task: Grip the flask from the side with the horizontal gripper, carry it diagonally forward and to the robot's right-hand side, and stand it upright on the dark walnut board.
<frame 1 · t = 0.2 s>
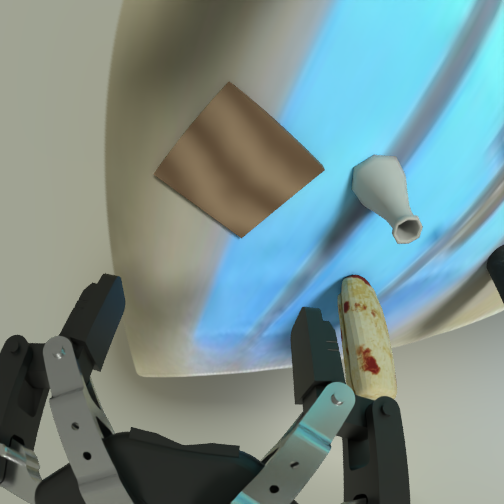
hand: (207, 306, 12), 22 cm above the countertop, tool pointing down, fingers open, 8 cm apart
flask: (377, 179, 30), on the countertop
walnut board: (236, 165, 31), on the countertop
food model: (355, 285, 43), on the countertop
travel mug: (499, 257, 36), on the countertop
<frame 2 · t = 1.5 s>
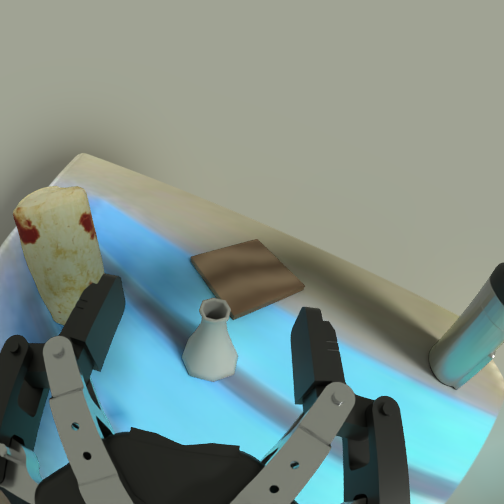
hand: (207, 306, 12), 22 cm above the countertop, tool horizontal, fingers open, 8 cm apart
flask: (209, 358, 34), on the countertop
walnut board: (246, 275, 47), on the countertop
food model: (84, 317, 34), on the countertop
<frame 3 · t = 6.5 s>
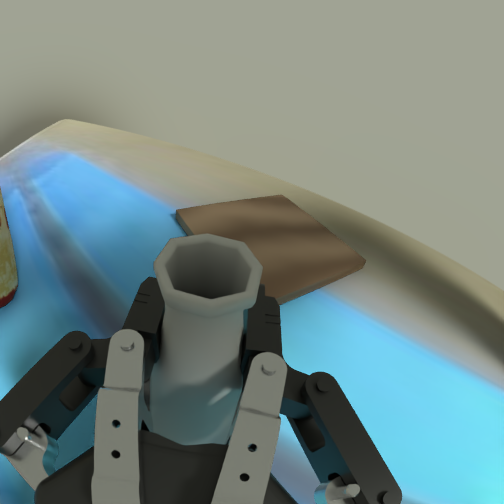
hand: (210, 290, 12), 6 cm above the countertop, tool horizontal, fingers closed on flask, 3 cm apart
flask: (198, 400, 14), on the countertop, touching gripper
walnut board: (269, 242, 27), on the countertop
when the fingers open (8 cm above the countertop, at t = 11.4 s): flask drops 1 cm, resting on walnut board.
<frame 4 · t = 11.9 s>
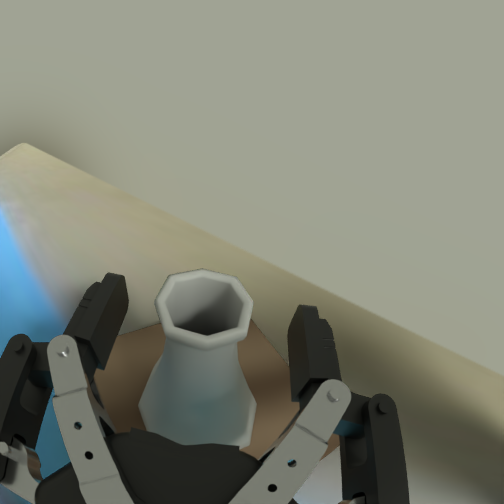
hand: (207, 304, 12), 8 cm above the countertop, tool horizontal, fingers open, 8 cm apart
flask: (197, 409, 15), point 1 cm above the countertop, touching walnut board
walnut board: (197, 412, 15), on the countertop
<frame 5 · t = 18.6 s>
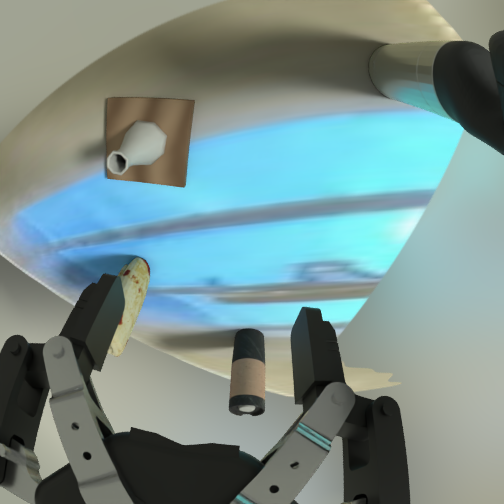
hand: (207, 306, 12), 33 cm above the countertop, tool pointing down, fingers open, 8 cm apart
flask: (145, 141, 38), point 1 cm above the countertop, touching walnut board
walnut board: (147, 140, 39), on the countertop
food model: (140, 268, 55), on the countertop
travel mug: (249, 336, 67), on the countertop
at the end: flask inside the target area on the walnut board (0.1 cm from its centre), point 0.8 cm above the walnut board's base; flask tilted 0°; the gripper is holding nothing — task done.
